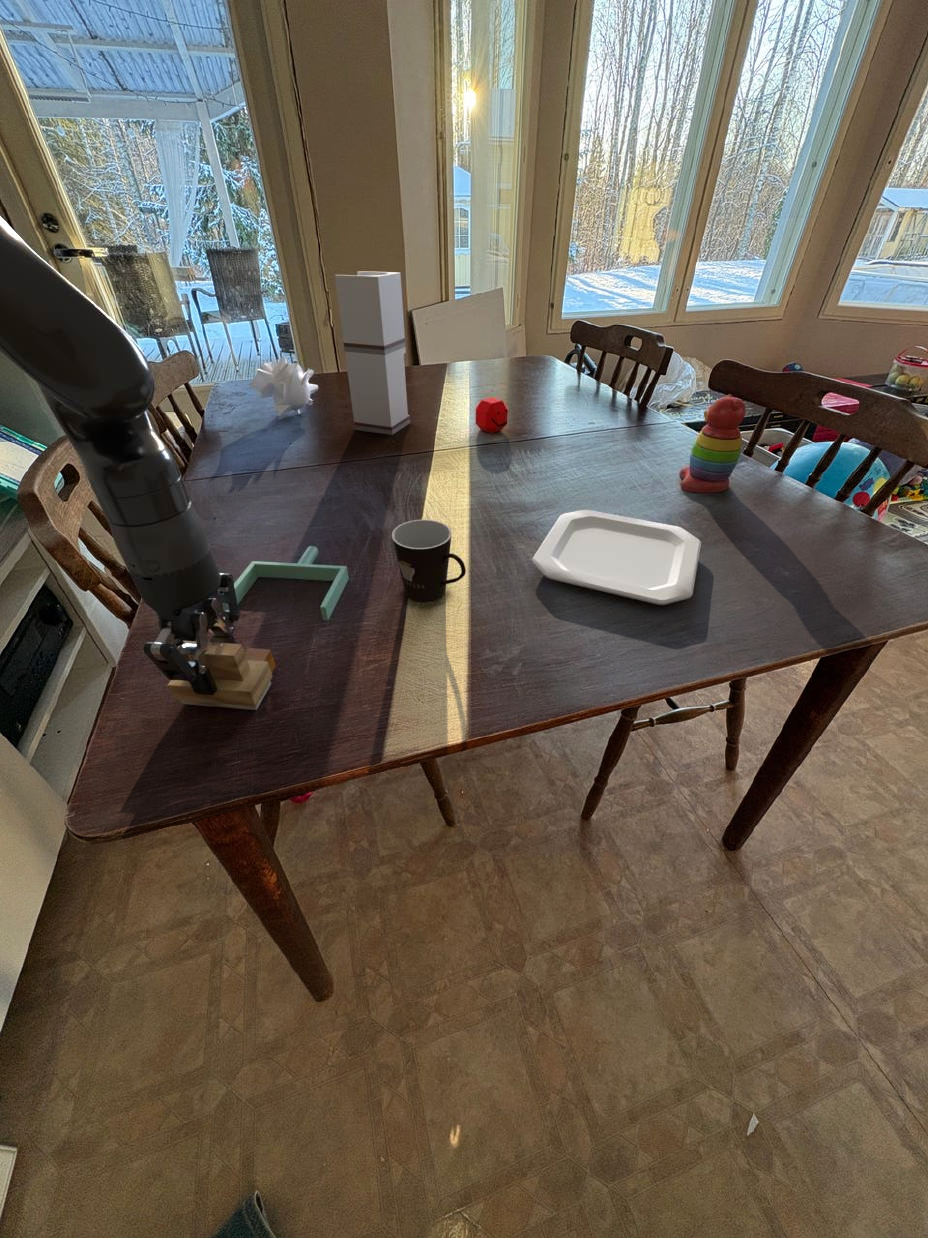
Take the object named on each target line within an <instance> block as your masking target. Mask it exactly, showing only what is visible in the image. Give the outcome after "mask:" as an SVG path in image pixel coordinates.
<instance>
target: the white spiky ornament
mask: <svg viewBox="0 0 928 1238" xmlns="http://www.w3.org/2000/svg"><path fill="white" fill-rule="evenodd" d="M314 373H315V371H314V370H313V369H311V367H309V368H308V369H307V371H305V372H304V371H303V369H302V367H301V365H299V363H296V362H293V363H288V361H287V359H286V355H282V357H281V358H280V360H279V361H273V360H271V361H269V362H263V363H262V364H261V366H260V368H257V370H256V375H255V376H254V377H253V379H252V380H251V382H249V386H250V387H252V388H254V390H255V391H257V392H258V393H260V396H259V399H263V398H264V399H267V398H272V404H273V408H274V412H275V414H276V415H277V417H281V416H282V415H283V416H284V415H285V414H287V413H289V412H291V411H294V412H295V415H299V414H301V411H300V409H303V408H304V407H305V406H306V405H309V406H312V405H313V403H314V402H312V401H314V400H313V399H311V395H312V394H314V393H316V392H317V391H319V385H318V384H314V383H309V381H310V379H311V378H312V377H313V376H314ZM309 402H311V403H309ZM307 403H308V404H307Z"/></svg>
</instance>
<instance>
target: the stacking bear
mask: <svg viewBox="0 0 928 1238" xmlns="http://www.w3.org/2000/svg"><path fill="white" fill-rule="evenodd" d="M746 412H747V409H746V405H745V402H744V401H743V400H742V399H741V398H739V397H735V396H733V395H732V394H731V393H729V394H727V396H723V397H720V398H718V399H717V400H716V401H715V402H713V403H712V404H710V406H709V407H707V408H706V409H705V410H704V412H703V417H704V421H705V422H706V425H704V426H703V427H702V428H701V431H700V432H699V434H697V437H696V439H695V441H694V442H693V445H692V447H691V451H690V454H689V465H688V466H684V467H681V469H680V470H679V473H678V475H679V477H680V478H681V479H683V480H681V482H680V484H679V486H680V489H682V490H683V491H686V492H689V493H691V492H692V493H700V494H709V493H719V492H723V491H726V490H727V489H728V488H729V485H730V477H731V475H732V473H733V472H734V469H735V468H736V467H737V465H738V463H739V459H740V456H741V452H742V443H743V437H742V433H741V430H740V428H739V426H740V425H741V423H742V422H743V420H744V419H745V416H746Z"/></svg>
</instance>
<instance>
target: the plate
mask: <svg viewBox="0 0 928 1238" xmlns="http://www.w3.org/2000/svg"><path fill="white" fill-rule="evenodd" d="M701 546H702V542H701V540H700V539H699V538H698V537H696V536H694V535H693V534H692V533H690V532H689V531H688V530H686V529H685V528H683V527H680V526H678V525H673V524H667V523H661V522H655V521H651V520H645V519H640V518H633V517H629V516H623V515H617V514H613V513H607V512H603V511H596V510H593V509H592V510H591V509H580V510H576V511H571V512H565V513H562V514H561V515H559V517H558V518H557V519H556V521H555V523H554V524H553V526H552V527H551V529H550V530H549V532H548V534H547V535H546V536H545V538H544V540H543V542H542V543H541V544H540V545H539V548H538V549H537V551H536V552H535V554H534V555H533V557H532V559H531V561H532V563H533V565H534V566H535V567H536V568H537V569H538V570H539V571H540V572H541V574H542V575H543V576H544V577H545V578H547V579H549V580H553V581H557V582H560V583H566V584H569V585H574V586H578V587H583V588H587V589H591V590H595V591H599V592H604V593H608V594H613V595H616V596H621V597H624V598H629V599H633V600H638V601H641V602H647V603H651V604H653V605H654V604H655V605H657V606H659V605H661V606H665V605H669V604H672V603H677V602H681V601H684V600H687V599H690V598H691V597H692V596H693V593H694V588H695V581H696V576H697V570H698V565H699V559H700V558H699V557H700V554H701V553H700V552H701Z"/></svg>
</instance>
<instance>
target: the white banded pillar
mask: <svg viewBox="0 0 928 1238" xmlns="http://www.w3.org/2000/svg"><path fill="white" fill-rule="evenodd" d="M356 273H357V274H355V275H354V274H334V283H335V290H336V291H335V292H336V297H337V304H338V305H337V306H338V311H339V318H340V319H339V320H340V327H341V334H342V335H341V336H342V342H343V347H344V349H343V350H344V357H345V363H346V372H347V378H348V386H349V394H350V401H351V409H352V417H353V424H354V430H355V431H362V432H369V433H376V434H383V435H390V436H393V435H394V434H396V433H397V432H399V431H400V430H402V429H404V428H405V427H407V426H408V425H410V424H411V415H409V408H408V396H407V381H406V380H407V379H406V368H405V354H406V353H407V350H406V336H405V335H406V334H405V323H404V305H403V289H402V277H401V274H402V273H401V272H398V271H397V272H396V271H372V270H371V271H370V270H369V271H368V270H367V271H365V270H358V271H356Z"/></svg>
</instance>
